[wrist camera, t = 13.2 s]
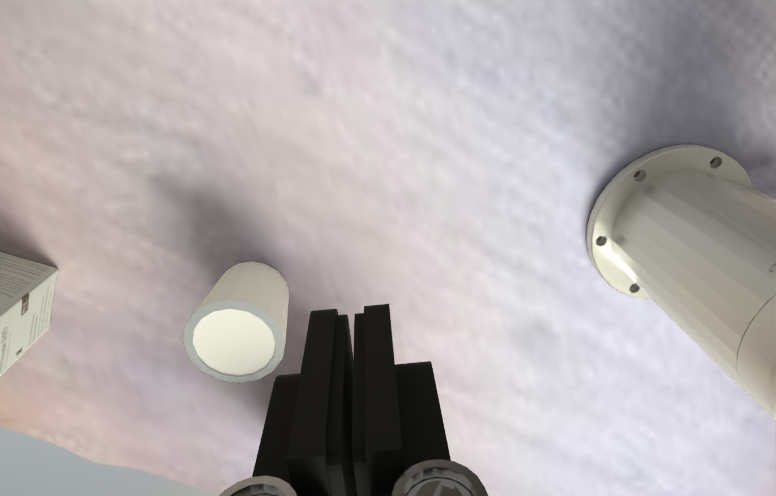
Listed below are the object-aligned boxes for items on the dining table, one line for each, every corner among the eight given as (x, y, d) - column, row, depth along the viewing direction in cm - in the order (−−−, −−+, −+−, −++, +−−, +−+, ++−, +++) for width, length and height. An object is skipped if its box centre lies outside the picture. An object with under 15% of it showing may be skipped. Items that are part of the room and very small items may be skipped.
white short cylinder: (215, 328, 42) (189, 384, 36) (205, 253, 39) (175, 300, 33) (298, 328, 43) (287, 384, 36) (295, 254, 40) (282, 300, 33)
